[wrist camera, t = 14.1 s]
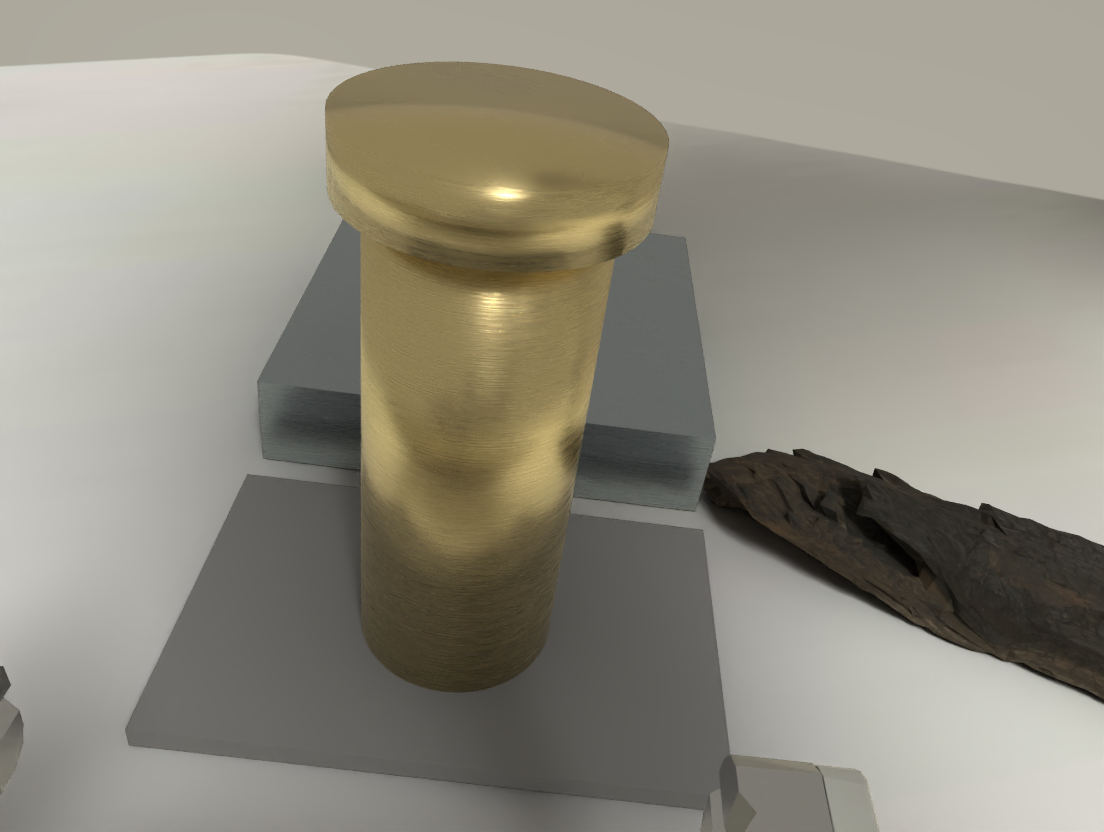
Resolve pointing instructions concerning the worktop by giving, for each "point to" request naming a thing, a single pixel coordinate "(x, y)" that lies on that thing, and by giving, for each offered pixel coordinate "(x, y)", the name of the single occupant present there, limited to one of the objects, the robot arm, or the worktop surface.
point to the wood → (935, 558)
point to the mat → (433, 716)
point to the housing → (615, 402)
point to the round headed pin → (478, 341)
